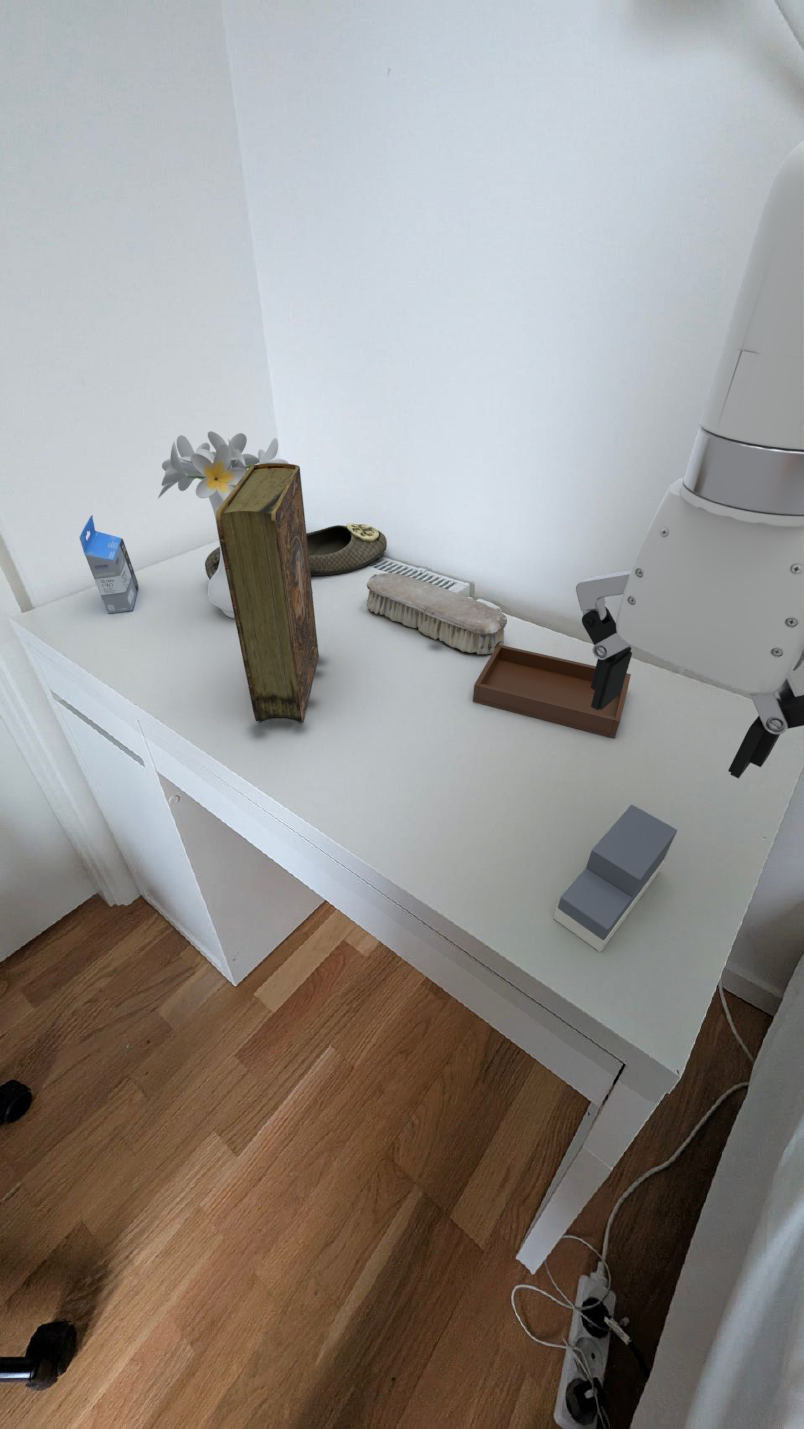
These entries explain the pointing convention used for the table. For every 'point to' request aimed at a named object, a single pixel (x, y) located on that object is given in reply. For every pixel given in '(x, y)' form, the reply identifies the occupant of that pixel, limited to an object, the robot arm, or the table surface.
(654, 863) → the grey stepped block
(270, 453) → the flower vase
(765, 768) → the table surface
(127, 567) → the label tape box
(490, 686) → the tray
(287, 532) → the book
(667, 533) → the robot arm
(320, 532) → the flat
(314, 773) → the table surface
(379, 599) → the shoe brush
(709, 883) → the table surface
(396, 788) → the table surface
